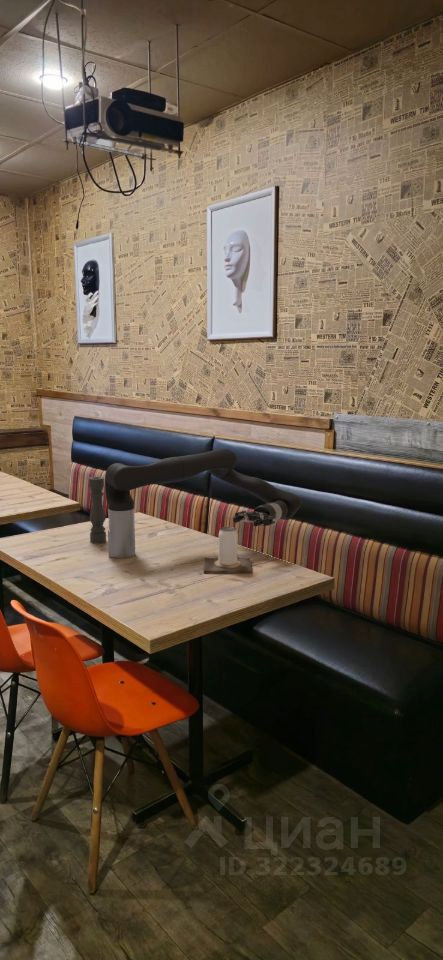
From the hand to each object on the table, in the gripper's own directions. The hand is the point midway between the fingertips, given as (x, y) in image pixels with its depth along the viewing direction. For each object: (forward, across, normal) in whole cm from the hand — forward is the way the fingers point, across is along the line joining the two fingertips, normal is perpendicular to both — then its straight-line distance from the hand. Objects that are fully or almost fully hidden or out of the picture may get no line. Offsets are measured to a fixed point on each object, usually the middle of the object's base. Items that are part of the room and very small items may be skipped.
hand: (244, 521), depth 235 cm
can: (+10, 0, +13) cm, 16 cm away
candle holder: (+12, -59, +15) cm, 62 cm away
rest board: (+10, 0, +14) cm, 17 cm away
